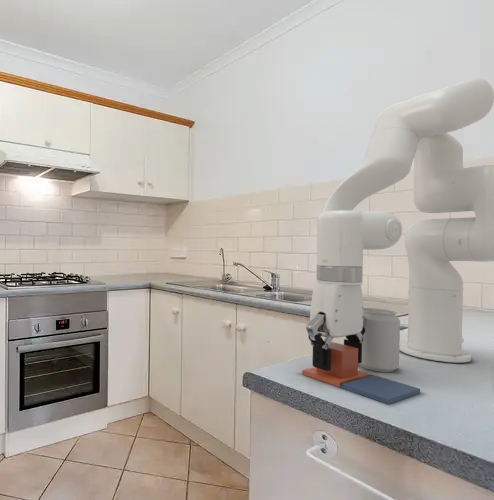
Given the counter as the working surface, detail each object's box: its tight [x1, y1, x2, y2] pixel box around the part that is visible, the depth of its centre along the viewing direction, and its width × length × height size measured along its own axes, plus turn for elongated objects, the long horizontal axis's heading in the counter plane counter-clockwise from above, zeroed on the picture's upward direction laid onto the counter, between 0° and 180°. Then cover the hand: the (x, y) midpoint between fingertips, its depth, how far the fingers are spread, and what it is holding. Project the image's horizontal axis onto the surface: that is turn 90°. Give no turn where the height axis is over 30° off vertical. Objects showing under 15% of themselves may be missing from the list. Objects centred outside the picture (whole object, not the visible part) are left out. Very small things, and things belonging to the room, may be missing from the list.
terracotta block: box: [316, 341, 359, 379], centre depth 69 cm, size 5×5×5 cm
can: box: [358, 307, 401, 373], centre depth 75 cm, size 8×8×12 cm
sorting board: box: [301, 367, 421, 405], centre depth 66 cm, size 10×15×1 cm, turn 28°
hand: (337, 364), depth 70 cm, fingers open, 9 cm apart
